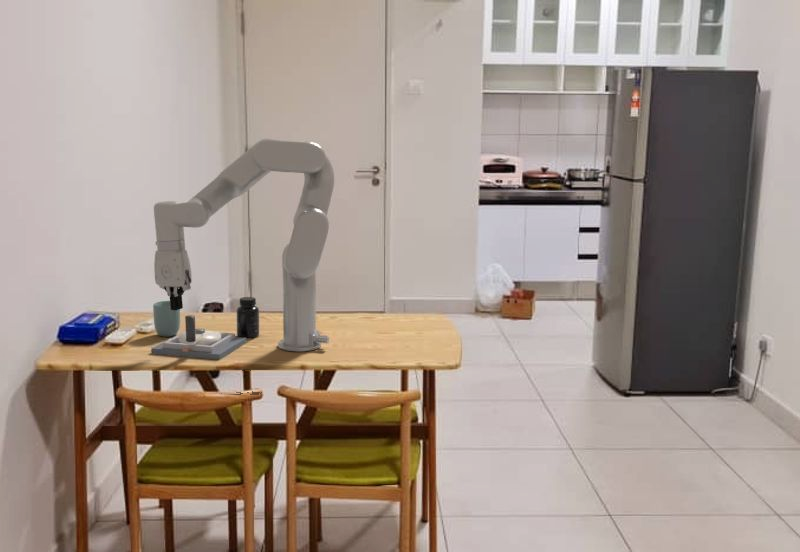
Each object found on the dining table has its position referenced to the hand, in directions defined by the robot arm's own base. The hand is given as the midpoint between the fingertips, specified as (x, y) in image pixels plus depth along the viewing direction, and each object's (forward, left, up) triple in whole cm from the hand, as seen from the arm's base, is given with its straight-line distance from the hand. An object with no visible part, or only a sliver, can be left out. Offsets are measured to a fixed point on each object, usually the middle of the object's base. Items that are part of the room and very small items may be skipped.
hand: (176, 309), depth 222 cm
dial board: (-5, -4, -12) cm, 14 cm away
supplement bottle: (-13, -20, -13) cm, 27 cm away
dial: (-5, -2, -11) cm, 12 cm away
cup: (+11, -14, -13) cm, 22 cm away
